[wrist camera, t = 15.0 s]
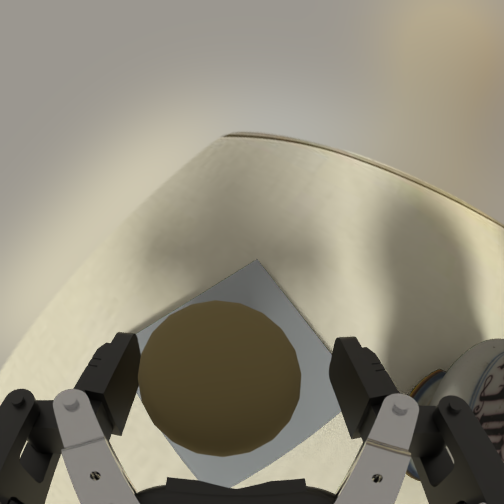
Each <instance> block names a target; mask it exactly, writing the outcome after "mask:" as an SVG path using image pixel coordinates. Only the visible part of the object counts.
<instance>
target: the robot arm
mask: <svg viewBox="0 0 504 504" xmlns="http://www.w3.org/2000/svg"><path fill="white" fill-rule="evenodd" d="M140 358H141V353H140V348H139V343H138V338H137V335H136V334H132V333H122V332H118V333H117V334H116V335H115V337H114V339H113V340H112V342H111V343H105V344H104V345H102V346H101V347H100V348H98V349H97V351H96V352H95V354H94V355H93V357H92V359H91V360H90V362H89V363H88V366H87V367H86V368H85V370H84V372H83V373H82V375H81V377H80V378H79V380H78V382H77V384H76V385H75V387H74V389H68V390H65V391H62V392H61V393H59V394H58V395H57V396H56V397H55V399H54V400H36V399H35V398H34V396H33V394H32V393H31V392H30V391H28V390H26V389H17V390H14V391H12V392H11V393H9V394H8V395H7V396H6V398H5V399H4V401H3V402H2V404H1V406H0V504H45V500H46V497H47V494H48V491H49V487H50V484H51V481H52V478H53V475H54V472H55V469H56V466H57V463H58V461H59V458H60V455H61V454H62V456H63V459H64V462H65V465H66V468H67V471H68V473H69V476H70V479H71V481H72V484H73V487H74V489H75V492H76V494H77V496H78V499H79V501H80V503H81V504H394V503H395V501H396V498H397V495H398V493H399V490H400V488H401V485H402V482H403V479H404V477H405V474H406V471H407V468H408V465H409V461H410V458H412V460H413V463H414V465H415V468H416V470H417V473H418V475H419V478H420V481H421V483H422V486H423V488H424V491H425V494H426V497H427V499H428V502H429V504H504V463H503V461H502V459H501V457H500V455H499V454H498V452H497V450H496V449H495V447H494V445H493V443H492V442H491V440H490V438H489V437H488V435H487V434H486V432H485V430H484V429H483V427H482V426H481V424H480V422H479V421H478V419H477V418H476V416H475V415H474V413H473V411H472V410H471V408H470V407H469V405H468V404H467V403H466V401H464V400H463V399H462V398H460V397H458V396H453V395H449V396H445V397H443V398H442V399H441V400H440V401H439V403H438V405H437V406H421V405H418V404H417V402H416V401H415V400H414V399H413V398H412V397H410V396H408V395H405V394H400V393H399V392H398V390H397V388H396V387H395V385H394V383H393V382H392V380H391V378H390V377H389V375H388V373H387V372H386V371H385V369H384V367H383V365H382V364H381V362H380V360H379V359H378V357H377V356H376V354H375V353H373V352H372V351H371V350H370V349H368V348H367V347H364V348H362V347H361V345H360V343H359V342H358V340H357V338H356V337H339V338H336V340H335V344H334V348H333V353H332V357H331V361H330V365H329V379H330V382H331V385H332V387H333V390H334V393H335V395H336V398H337V401H338V404H339V406H340V409H341V412H342V415H343V417H344V420H345V423H346V426H347V428H348V431H349V434H350V437H351V439H355V438H360V437H361V438H362V440H363V443H362V445H361V447H360V449H359V451H358V453H357V455H356V457H355V459H354V461H353V463H352V465H351V467H350V469H349V471H348V473H347V474H346V476H345V478H344V480H343V481H342V483H341V485H340V486H339V488H338V490H337V491H336V493H335V494H334V493H331V492H329V491H326V490H323V489H319V488H315V487H308V486H306V483H305V478H304V479H295V480H283V481H270V482H266V483H263V484H258V485H254V486H250V487H245V488H240V489H232V488H227V487H223V486H219V485H215V484H211V483H207V482H204V481H199V480H187V479H178V478H169V477H167V482H166V485H161V486H156V487H151V488H148V489H145V490H142V491H140V492H137V491H136V489H135V487H134V486H133V484H132V483H131V481H130V479H129V478H128V476H127V474H126V472H125V471H124V469H123V467H122V465H121V463H120V461H119V460H118V458H117V456H116V454H115V452H114V450H113V448H112V446H111V444H110V442H109V439H110V437H111V434H114V435H119V436H121V435H122V432H123V429H124V427H125V424H126V421H127V418H128V415H129V412H130V409H131V406H132V403H133V401H134V398H135V395H136V392H137V390H138V387H139V383H138V371H139V365H140ZM26 440H27V441H28V442H27V444H26V446H25V449H24V451H23V453H22V455H21V458H20V454H21V451H22V449H23V447H24V445H25V443H26ZM446 446H447V447H448V449H449V451H450V453H451V455H452V457H453V459H454V463H453V461H452V459H451V457H450V455H449V453H448V451H447V449H446Z"/></svg>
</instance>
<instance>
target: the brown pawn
mask: <svg viewBox="0 0 504 504" xmlns="http://www.w3.org/2000/svg"><path fill="white" fill-rule="evenodd" d="M138 383H139V389H140V395H141V400H142V403H143V405H144V407H145V409H146V411H147V413H148V414H149V416H150V418H151V420H152V422H153V423H154V425H155V426H156V427H157V428H158V429H159V430H160V431H162V432H163V433H164V434H165V435H166V436H167V437H168V438H169V439H170V440H171V441H172V442H174V443H176V444H178V445H180V446H182V447H184V448H186V449H188V450H190V451H192V452H195V453H197V454H204V455H211V456H219V457H227V456H233V455H239V454H244V453H249V452H251V451H253V450H255V449H257V448H259V447H261V446H263V445H264V444H266V443H268V442H270V441H272V440H273V439H274V438H275V437H276V436H277V435H278V434H279V433H280V432H281V430H282V429H283V428H284V427H285V426H286V425H287V424H288V423H289V422H290V420H291V417H292V415H293V413H294V411H295V408H296V406H297V404H298V401H299V399H300V388H301V370H300V366H299V363H298V359H297V355H296V351H295V349H294V347H293V346H292V344H291V343H290V341H289V339H288V338H287V336H286V335H285V333H284V332H283V330H282V329H281V328H280V327H279V326H278V325H277V324H275V323H274V322H273V321H272V320H271V319H269V318H268V317H267V316H266V315H265V314H263V313H262V312H259V311H257V310H255V309H252V308H250V307H248V306H245V305H243V304H241V303H235V302H226V301H218V300H214V301H208V302H202V303H196V304H191V305H189V306H187V307H185V308H183V309H181V310H179V311H177V312H175V313H173V314H171V315H169V316H168V317H167V318H166V319H165V320H164V321H163V322H162V323H161V324H160V325H159V326H158V327H157V328H156V329H155V330H154V331H153V332H152V334H151V336H150V338H149V340H148V341H147V343H146V345H145V347H144V349H143V351H142V353H141V358H140V365H139V371H138Z"/></svg>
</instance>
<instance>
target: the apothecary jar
mask: <svg viewBox="0 0 504 504" xmlns="http://www.w3.org/2000/svg"><path fill="white" fill-rule="evenodd" d="M449 395H453V396H458V397H460V398H462V399H463V400H464V401H466V403H467V404H468V405H469V407H470V408H471V410H472V411H473V413H474V415H475V416H476V418H477V419H478V421H479V422H480V424H481V426H482V427H483V429H484V430H485V432H486V434H487V435H488V437H489V438H490V440H491V442H492V443H493V445H494V447H495V449H496V450H497V452H498V454H499V455H500V457H501V459H502V461H503V463H504V339H490V340H486V341H483V342H481V343H479V344H477V345H475V346H473V347H472V348H470V349H469V350H467V351H466V352H465V353H464V354H462V355H461V356H460V357H459V358H458V359H457V360H456V361H455V363H454V364H453V365H452V366H451V367H450V369H449V370H448V371H447V373H446V372H445V371H443V370H441V369H439V370H437V371H434V372H433V373H431V374H429V375H428V376H426V377H425V378H424V379H422V380H421V381H420V382H419V383H418V385H417V386H416V387H415V388H414V389H413V391H412V392H411V393H410V395H409V396H410V397H412V398H413V399H414V400H415V401H416V402H417V404H418V405H421V406H437V405H438V403H439V401H440V400H441V399H442V398H443V397H445V396H449ZM446 449H447V451H448V453H449V455H450V457H451V459H452V461H453V463H454V459H453V457H452V455H451V453H450V451H449V449H448V447H447V446H446ZM406 474H407V475H408V476H410V477H411V478H413V479H415V480H418V481H420V478H419V475H418V473H417V470H416V468H415V465H414V463H413V460H412V458H410V461H409V465H408V468H407V471H406Z"/></svg>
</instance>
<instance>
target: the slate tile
mask: <svg viewBox="0 0 504 504" xmlns="http://www.w3.org/2000/svg"><path fill="white" fill-rule="evenodd" d="M214 300H218V301H226V302H235V303H241V304H243V305H245V306H248V307H250V308H252V309H255V310H257V311H259V312H262V313H263V314H265V315H266V316H267V317H268V318H269V319H271V320H272V321H273V322H274V323H275V324H277V325H278V326H279V327H280V328H281V329H282V330H283V332H284V333H285V335H286V336H287V338H288V339H289V341H290V343H291V344H292V346H293V347H294V349H295V351H296V355H297V359H298V363H299V366H300V370H301V388H300V399H299V401H298V404H297V406H296V408H295V411H294V413H293V415H292V417H291V420H290V422H289V423H288V424H287V425H286V426H285V427H284V428H283V429H282V430H281V432H280V433H279V434H278V435H277V436H276V437H275V438H274V439H273V440H272V441H270V442H268V443H266V444H264V445H263V446H261V447H259V448H257V449H255V450H253V451H251V452H249V453H244V454H239V455H233V456H227V457H219V456H211V455H204V454H197V453H195V452H192V451H190V450H188V449H186V448H184V447H182V446H180V445H178V444H176V443H174V442H172V441H171V440H170V439H169V438H168V437H167V436H166V435H165V434H164V433H163V432H162V431H161V432H162V433H163V434H164V436H165V437H166V439H167V440H168V442H169V443H170V444H171V446H172V447H173V448H174V450H175V451H176V452H177V454H178V455H179V456H180V458H181V459H182V460H183V462H184V463H185V464H186V465H187V467H188V468H189V469H190V470H191V472H192V473H193V474H194V475H195V477H196V478H197V479H198V480H199V481H204V482H207V483H211V484H215V485H219V486H223V487H227V488H231V487H232V486H234V485H236V484H238V483H240V482H241V481H243V480H245V479H247V478H248V477H250V476H252V475H253V474H255V473H257V472H258V471H260V470H262V469H263V468H265V467H266V466H268V465H269V464H271V463H273V462H274V461H276V460H277V459H279V458H280V457H282V456H283V455H285V454H286V453H287V452H289V451H290V450H292V449H293V448H295V447H296V446H297V445H299V444H300V443H302V442H303V441H304V440H306V439H307V438H308V437H310V436H311V435H312V434H314V433H315V432H316V431H318V430H319V429H320V428H321V427H323V426H324V425H325V424H326V423H328V422H329V421H330V420H331V419H333V418H334V417H335V416H336V415H337V414H339V413H340V412H341V409H340V406H339V404H338V401H337V398H336V395H335V393H334V390H333V387H332V385H331V382H330V379H329V365H330V361H331V357H332V355H331V353H330V352H329V351H328V349H327V348H326V347H325V346H324V344H323V343H322V342H321V340H320V339H319V338H318V337H317V335H316V334H315V333H314V331H313V330H312V329H311V328H310V326H309V325H308V324H307V323H306V321H305V320H304V319H303V317H302V316H301V315H300V314H299V312H298V311H297V310H296V308H295V307H294V306H293V305H292V303H291V302H290V301H289V299H288V298H287V297H286V296H285V294H284V293H283V292H282V290H281V289H280V288H279V287H278V285H277V284H276V283H275V281H274V280H273V279H272V278H271V276H270V275H269V274H268V272H267V271H266V270H265V269H264V267H263V266H262V265H261V263H260V262H259V261H258V260H257V259H256V260H255V261H253V262H252V263H250V264H248V265H247V266H245V267H244V268H242V269H240V270H239V271H237V272H236V273H234V274H232V275H231V276H229V277H227V278H226V279H224V280H223V281H221V282H219V283H218V284H216V285H215V286H213V287H211V288H210V289H208V290H206V291H205V292H203V293H202V294H200V295H198V296H197V297H195V298H194V299H192V300H190V301H189V302H187V303H185V304H184V305H182V306H181V307H179V308H177V309H176V310H174V311H172V312H171V313H169V314H168V315H166V316H164V317H163V318H161V319H159V320H158V321H156V322H154V323H153V324H151V325H150V326H148V327H146V328H145V329H143V330H141V331H140V332H138V333H136V335H137V338H138V343H139V348H140V353H142V351H143V349H144V347H145V345H146V343H147V341H148V340H149V338H150V336H151V334H152V332H153V331H154V330H155V329H156V328H157V327H158V326H159V325H160V324H161V323H162V322H163V321H164V320H165V319H166V318H167V317H168V316H169V315H171V314H173V313H175V312H177V311H179V310H181V309H183V308H185V307H187V306H189V305H191V304H196V303H202V302H208V301H214ZM136 393H137V394H138V396H139V398H140V399H141V395H140V389H139V387H138V390H137V392H136ZM141 401H142V400H141Z"/></svg>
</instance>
